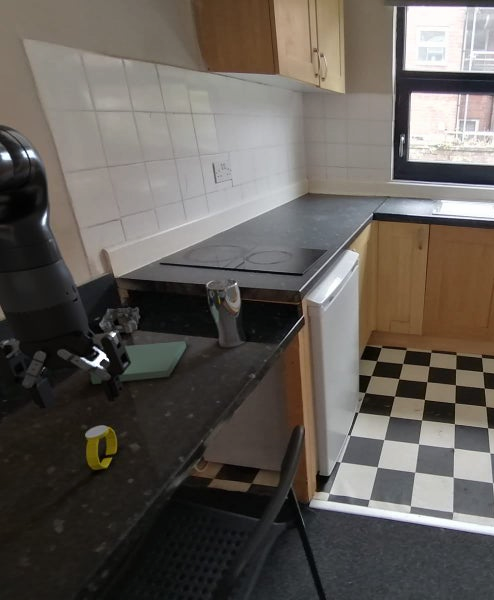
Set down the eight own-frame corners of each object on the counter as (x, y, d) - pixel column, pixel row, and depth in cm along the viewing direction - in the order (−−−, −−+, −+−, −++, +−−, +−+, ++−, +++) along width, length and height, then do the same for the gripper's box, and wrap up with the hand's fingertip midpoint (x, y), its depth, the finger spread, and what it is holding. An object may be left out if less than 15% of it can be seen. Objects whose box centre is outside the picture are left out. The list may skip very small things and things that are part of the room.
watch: (109, 475, 60) (97, 445, 57) (88, 478, 59) (74, 448, 57) (125, 446, 65) (114, 417, 63) (106, 449, 64) (94, 419, 62)
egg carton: (136, 333, 99) (132, 319, 97) (100, 339, 97) (95, 324, 95) (143, 315, 108) (139, 301, 106) (111, 320, 106) (106, 306, 104)
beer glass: (210, 347, 93) (197, 287, 87) (230, 333, 99) (219, 276, 93) (235, 351, 91) (223, 291, 85) (254, 337, 98) (244, 279, 91)
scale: (88, 388, 79) (82, 373, 77) (118, 354, 91) (113, 340, 89) (167, 380, 81) (163, 366, 80) (186, 348, 93) (183, 334, 91)
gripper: (-51, 314, 46) (6, 425, 53) (87, 304, 48) (125, 412, 55) (-3, 289, 53) (42, 391, 59) (116, 282, 55) (147, 380, 62)
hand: (82, 401), depth 57 cm, fingers open, 8 cm apart
